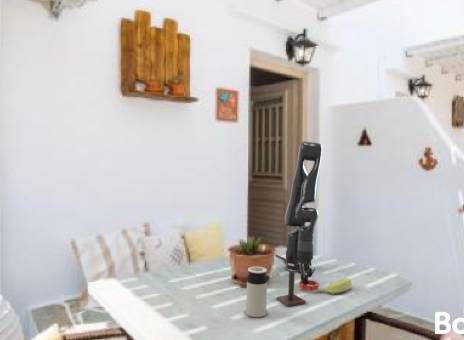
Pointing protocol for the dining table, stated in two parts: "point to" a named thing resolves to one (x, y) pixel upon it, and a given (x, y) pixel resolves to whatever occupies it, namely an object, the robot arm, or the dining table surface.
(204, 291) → the dining table surface
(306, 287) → the ring
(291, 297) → the peg stand
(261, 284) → the travel mug
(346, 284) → the banana
